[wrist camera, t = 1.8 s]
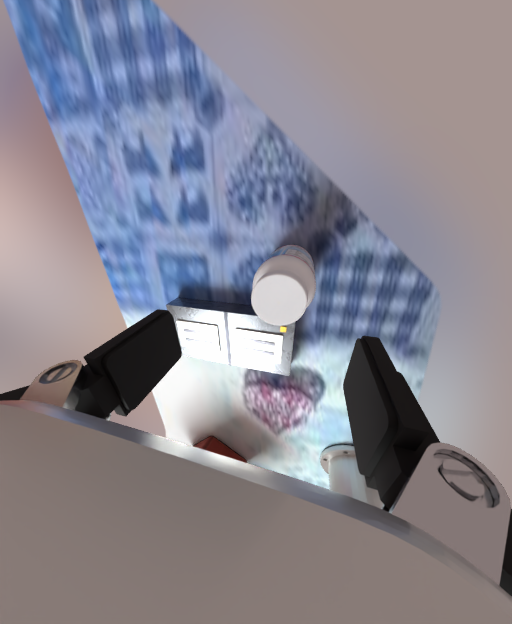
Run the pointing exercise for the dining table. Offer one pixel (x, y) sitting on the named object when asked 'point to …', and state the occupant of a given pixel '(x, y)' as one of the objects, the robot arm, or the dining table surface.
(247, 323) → the panel
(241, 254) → the dining table surface
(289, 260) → the pill bottle
